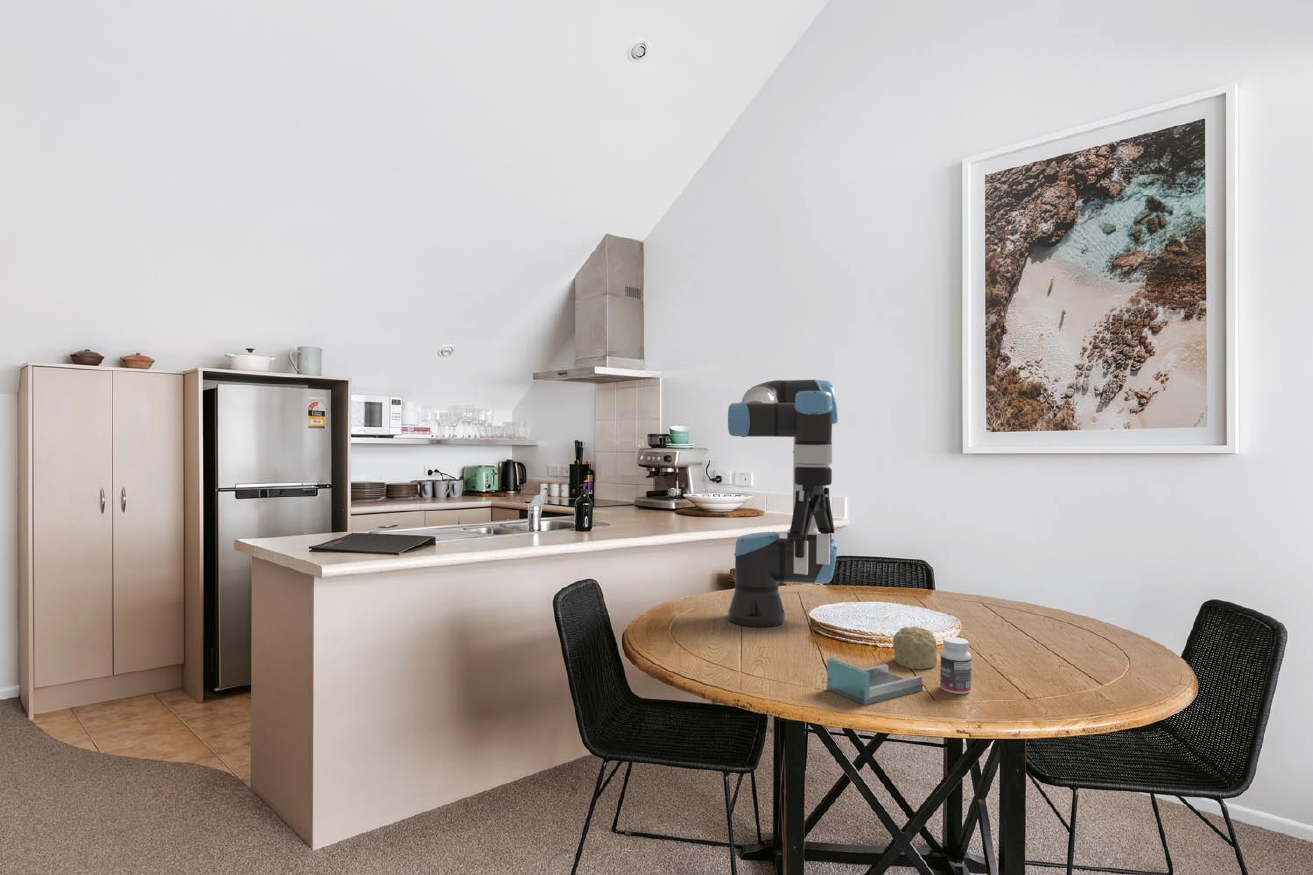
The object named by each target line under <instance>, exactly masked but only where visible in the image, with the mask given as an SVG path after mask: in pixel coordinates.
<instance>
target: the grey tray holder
mask: <svg viewBox="0 0 1313 875" xmlns="http://www.w3.org/2000/svg"><path fill="white" fill-rule="evenodd" d="M826 677H827V678H826V690H828V691H830V692H832V693H835V694H836V695H839V696H842V697H844V698H846V699H848V700H851V701H852V702H856V703H859V704H860V705H863V706H868V705H872V704H876V703H879V702H880V703H881V702H883V701H887V700H891V699H895V698H900V697H903V696H906V695H910V694H914V693H918V692H922V691H923V689H924V688H923V686H924V685H923V684H922V683H923V682H922V681H923V677H922V676H920V675H915V676H910V677H906V678H903V677H901V676H899V675H895V674H893V673H889V664H886V663H885V664H879V665H875V666H871V667H866V668H860V667H859V668H858V667H856V666H853V665H851V664H848V663H845V662H842V661H839V660H836V659H835V658H827V660H826Z"/></svg>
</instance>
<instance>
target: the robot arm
mask: <svg viewBox="0 0 1313 875" xmlns="http://www.w3.org/2000/svg"><path fill="white" fill-rule="evenodd" d="M834 388H835V387H834V384H833V382H831V381H829V380H823V379H821V380H820V379H795V380H794V379H791V380H790V379H789V380H788V379H786V380H781V379H777V380H775V379H774V380H768V381H766V382H762V383H759V384H756V385H754V386H753V387H751V388H750V389H748V390H747V391H745V393H744V394H743V396H742V399H741V401H740V402H733V403H731V404H729V405H728V410H727V430H728V433H729V435H730V436H732V437H740V438H741V437H742V438H747V437H750V438H751V437H753V438H754V437H756V438H757V437H765V438H766V437H771V438H772V437H774V438H775V437H778V438H783V437H784V438H793V449H792V450H793V451H792V453H793V463H792V464H793V468H792V469H793V474H792V475H793V480H792V481H793V482H792V483H793V484H792V487H793V489H792V490H793V492H792V501H793V502H792V504H793V505H792V518H791V523H790V524H791V525H790V528H789V529H788V530H787V531H786V538H784V537H782V538H781V537H780V535H779V533H778V532H776V531H762V532H755V533H748V534H744V535H740V536H739V537H738V538H737V539H736V541H735V549H734V550H735V551H734V556H735V560H734V563H735V568H734V573H735V574H734V592H733V596H732V598H731V602H730V607H729V608H728V612H727V616H728V618H727V619H728V621H729V622H731V623H733V624H736V625H741V626H745V627H746V626H747V627H754V628H755V627H757V628H758V627H762V628H763V627H764V628H765V627H775V626H778V625H779V626H780V625H782V624H784V623H785V621H786V619H785V618H786V612H785V609H784V606H783V603H782V599H781V595H780V592H779V584H780V583H793V584H797V583H798V584H800V583H801V584H812V585H815V584H828V583H830V582H831V581H832V579H833V577H834V574H835V569H836V568H835V567H836V562H837V561H836V560H837V552H838V551H837V549H838V540H836V539H835V538H833V537H832V534H835V525H834V520H833V519H834V518H833V513H832V506H831V501H830V500H831V499H830V488H829V487H828V486H830V485H832V482H833V481H832V480H833V474H832V472H833V471H832V470H833V469H832V468H831V466H830V465H832V463H833V444H832V443H833V442H832V438H833V435H832V434H833V432H832V431H833V425H835V424H837V423H838V420H839V418H838V405H837V399H836V393H835V389H834Z"/></svg>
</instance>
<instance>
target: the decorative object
mask: <svg viewBox="0 0 1313 875" xmlns="http://www.w3.org/2000/svg"><path fill="white" fill-rule="evenodd" d="M937 645H938V644H937V641H936V638H935V636H934V634H933V633H932V632H931V630H929V629H924V628H923V627H917V626H910V627H909V626H903V627H902V628H900V629H899V631H897V632H896V633H895V634H894V635H893V638H892V648H893V650H894V652H893V653H894V660H895V662H896V663H897V665H899V666H901V667H904V668H907V669H912V670H925V669H932V668H934V667H935V666H936V665H937V662H938V661H937V660H938V657H937V656H938V653H937V650H938V646H937Z"/></svg>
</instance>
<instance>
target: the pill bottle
mask: <svg viewBox="0 0 1313 875" xmlns="http://www.w3.org/2000/svg"><path fill="white" fill-rule="evenodd" d="M942 643H943V644H942V645H943V646H944V648H943V649H942V650H941V651H940V666H939V667H940V669H939V670H940V671H939V672H940V675H939V677H940V679H939V681H940V682H939V686H940V688H941V690H943V691H944V692H945V693H949V694H957V695H965V694H969V693H970V692H971V690H972V655H971V653H970V652H969V651H968V649H969V646H970V645H969V644H970V643H969V641H968V639H965V638H962V637H957V636H950V637H949V636H948V637H944V638H943V642H942Z"/></svg>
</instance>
